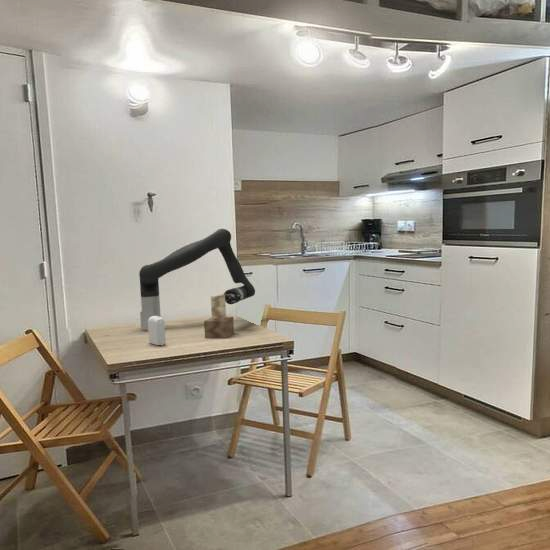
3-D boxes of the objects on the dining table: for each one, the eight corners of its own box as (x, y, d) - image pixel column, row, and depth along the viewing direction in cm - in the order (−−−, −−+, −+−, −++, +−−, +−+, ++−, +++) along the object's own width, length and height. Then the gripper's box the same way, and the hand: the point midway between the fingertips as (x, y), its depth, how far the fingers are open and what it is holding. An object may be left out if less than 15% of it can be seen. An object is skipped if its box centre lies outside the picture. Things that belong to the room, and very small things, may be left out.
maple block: (211, 319, 216) (210, 296, 215) (216, 317, 220) (215, 294, 219) (222, 319, 214) (220, 295, 213) (226, 317, 219) (224, 294, 218)
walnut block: (205, 338, 213) (204, 321, 212) (214, 333, 225) (213, 316, 224) (225, 338, 211) (225, 321, 210) (234, 333, 222) (233, 316, 222)
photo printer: (147, 343, 207) (146, 315, 206) (156, 341, 210) (155, 314, 209) (158, 346, 199) (156, 317, 198) (167, 344, 202) (165, 316, 201)
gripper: (220, 288, 237) (206, 292, 221) (246, 288, 233) (234, 292, 217) (221, 303, 237) (207, 308, 222) (247, 303, 233) (235, 308, 218)
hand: (220, 300), depth 220 cm, fingers open, 8 cm apart
